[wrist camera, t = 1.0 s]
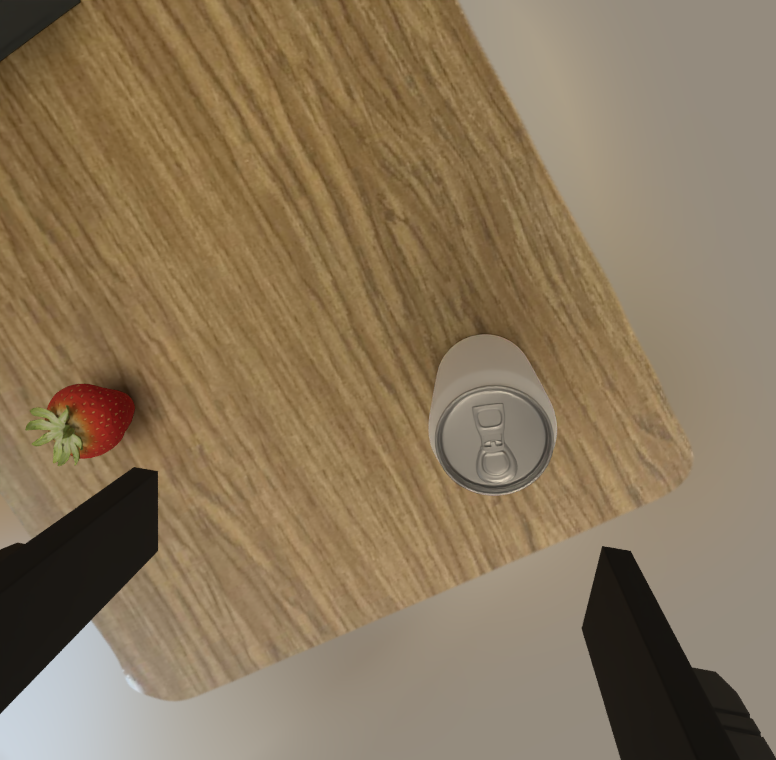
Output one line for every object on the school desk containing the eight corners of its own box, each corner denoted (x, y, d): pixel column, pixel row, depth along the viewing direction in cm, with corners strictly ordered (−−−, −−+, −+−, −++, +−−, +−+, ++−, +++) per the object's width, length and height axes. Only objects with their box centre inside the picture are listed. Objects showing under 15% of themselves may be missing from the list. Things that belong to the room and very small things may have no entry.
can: (444, 429, 39) (436, 510, 27) (429, 340, 37) (415, 386, 26) (537, 417, 38) (570, 496, 26) (526, 325, 36) (555, 366, 25)
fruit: (79, 389, 42) (-6, 423, 34) (131, 356, 41) (54, 383, 33) (118, 444, 43) (43, 490, 35) (170, 413, 41) (103, 454, 34)
